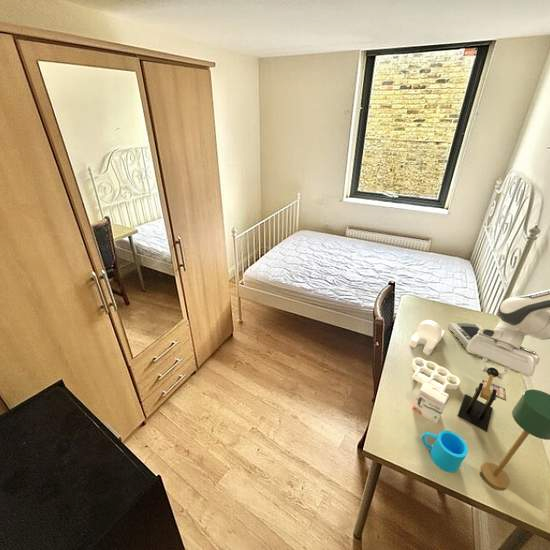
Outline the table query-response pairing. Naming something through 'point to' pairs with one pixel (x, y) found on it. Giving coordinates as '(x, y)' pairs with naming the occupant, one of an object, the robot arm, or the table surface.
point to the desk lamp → (533, 420)
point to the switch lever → (489, 383)
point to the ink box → (430, 402)
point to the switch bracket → (477, 409)
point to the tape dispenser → (427, 336)
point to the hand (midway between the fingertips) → (491, 374)
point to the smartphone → (500, 390)
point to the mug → (447, 450)
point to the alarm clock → (464, 331)
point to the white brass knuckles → (433, 374)
